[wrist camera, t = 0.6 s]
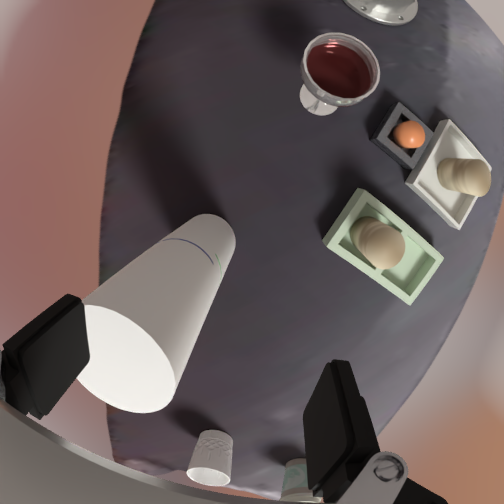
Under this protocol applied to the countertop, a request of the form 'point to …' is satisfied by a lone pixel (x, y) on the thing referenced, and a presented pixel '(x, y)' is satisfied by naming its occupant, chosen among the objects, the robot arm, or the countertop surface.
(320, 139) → the countertop surface
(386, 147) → the button housing
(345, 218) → the pale green flat tray
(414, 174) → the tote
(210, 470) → the white cup
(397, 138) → the button
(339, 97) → the wineglass
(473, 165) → the cylinder
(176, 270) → the cylindrical container
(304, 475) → the coffee cup
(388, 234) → the cylinder
